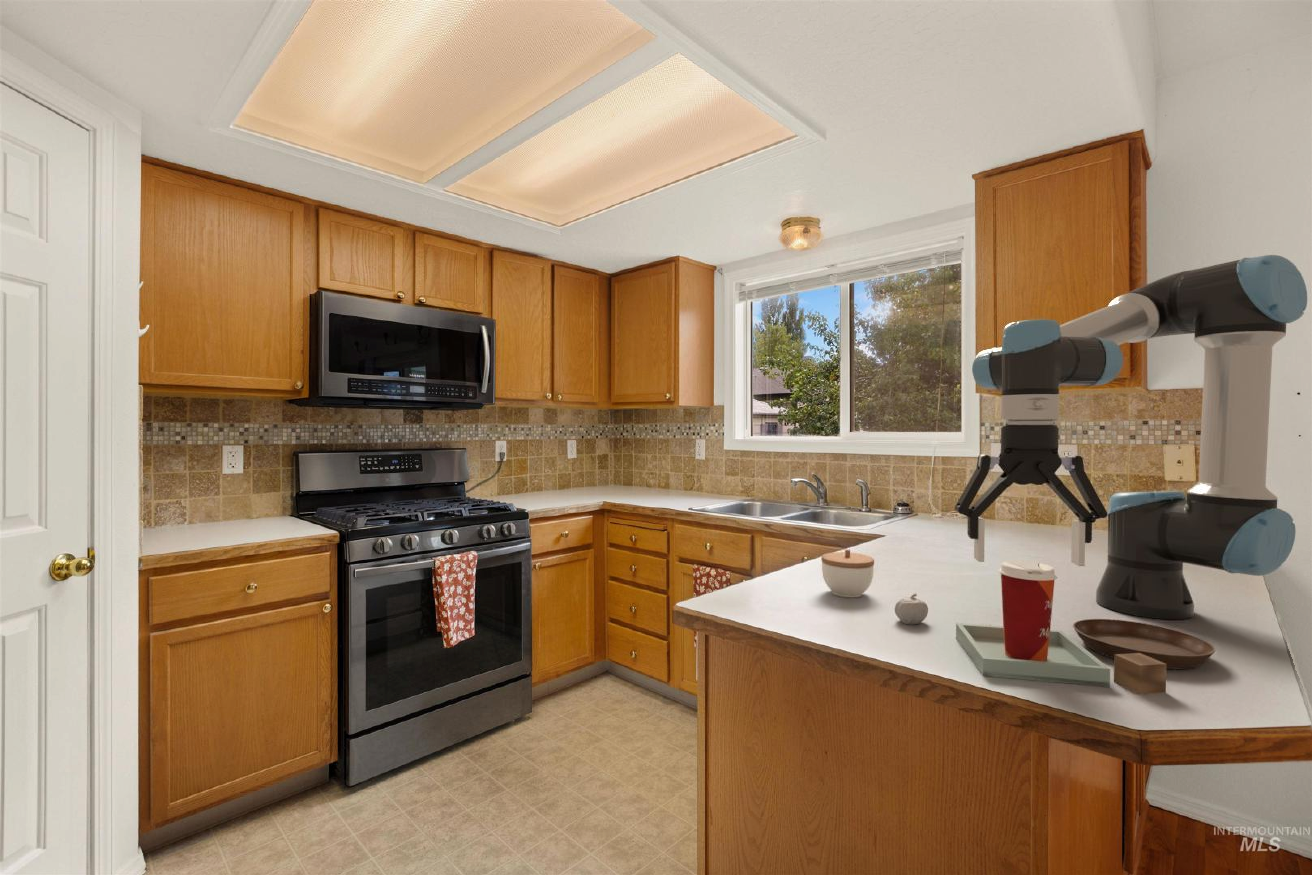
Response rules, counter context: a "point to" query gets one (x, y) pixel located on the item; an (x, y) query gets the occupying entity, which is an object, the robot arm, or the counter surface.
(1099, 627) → the plant saucer
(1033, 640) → the paper cup
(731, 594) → the counter surface
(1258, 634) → the counter surface
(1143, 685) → the walnut block
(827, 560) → the lidded jar
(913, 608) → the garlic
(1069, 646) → the tray
